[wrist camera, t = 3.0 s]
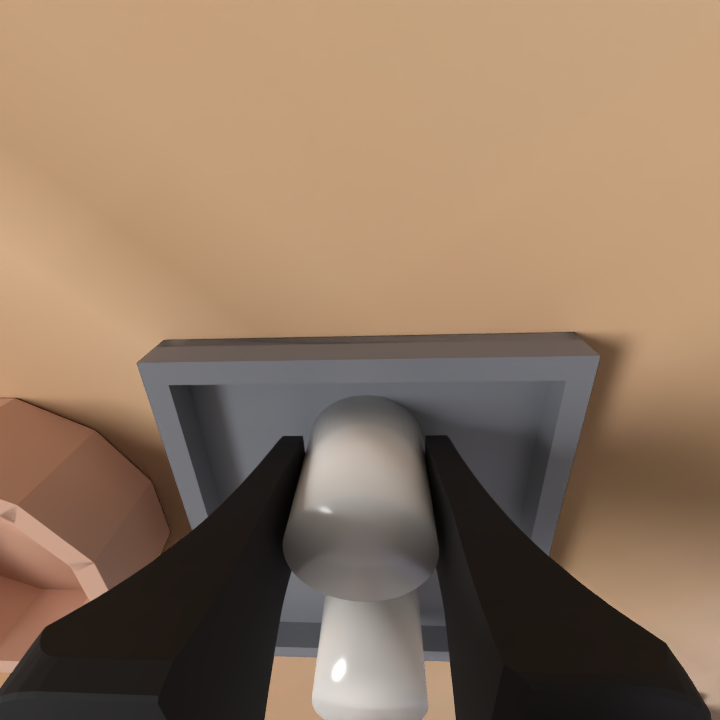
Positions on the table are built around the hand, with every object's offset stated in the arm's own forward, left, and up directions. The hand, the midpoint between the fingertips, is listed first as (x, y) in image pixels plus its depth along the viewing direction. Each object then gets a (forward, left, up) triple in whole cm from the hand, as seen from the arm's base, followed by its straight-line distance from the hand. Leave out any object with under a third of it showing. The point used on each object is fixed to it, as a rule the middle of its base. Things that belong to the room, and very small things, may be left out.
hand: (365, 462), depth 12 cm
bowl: (+13, +4, -1) cm, 14 cm away
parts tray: (0, +4, -1) cm, 4 cm away
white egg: (0, 0, -1) cm, 1 cm away
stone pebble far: (0, +7, -1) cm, 7 cm away
